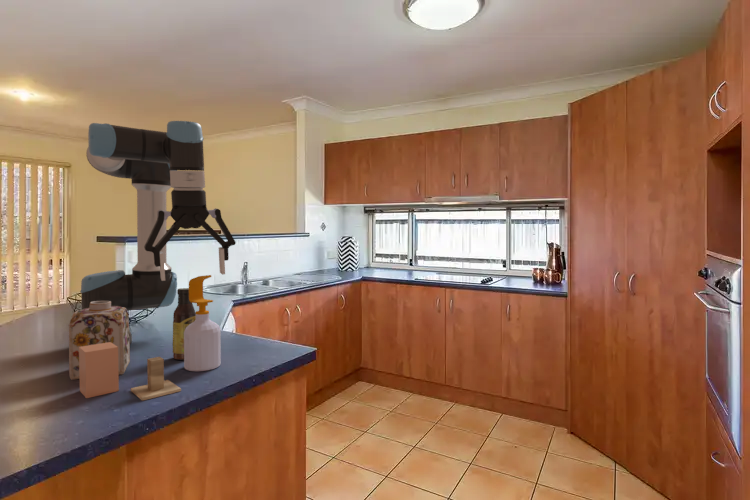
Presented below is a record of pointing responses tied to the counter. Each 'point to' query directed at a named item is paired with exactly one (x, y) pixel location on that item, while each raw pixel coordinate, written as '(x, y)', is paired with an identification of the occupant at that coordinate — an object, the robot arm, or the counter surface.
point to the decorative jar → (99, 333)
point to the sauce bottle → (182, 321)
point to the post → (155, 381)
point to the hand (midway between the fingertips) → (193, 276)
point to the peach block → (98, 369)
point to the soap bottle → (201, 333)
